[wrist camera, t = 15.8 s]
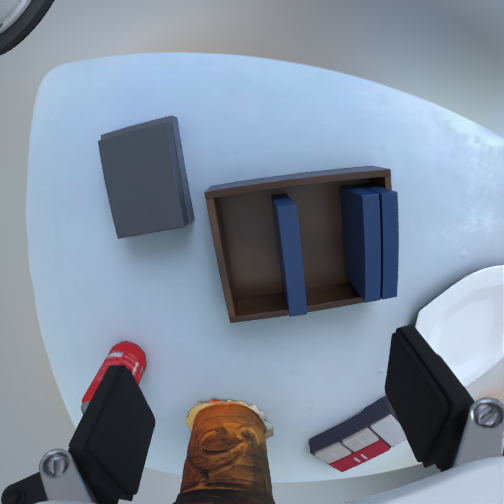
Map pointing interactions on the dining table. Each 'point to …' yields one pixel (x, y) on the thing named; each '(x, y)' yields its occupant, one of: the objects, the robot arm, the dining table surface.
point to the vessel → (226, 455)
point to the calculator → (359, 437)
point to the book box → (265, 241)
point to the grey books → (146, 178)
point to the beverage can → (118, 355)
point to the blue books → (370, 239)
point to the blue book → (290, 253)
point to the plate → (467, 323)
